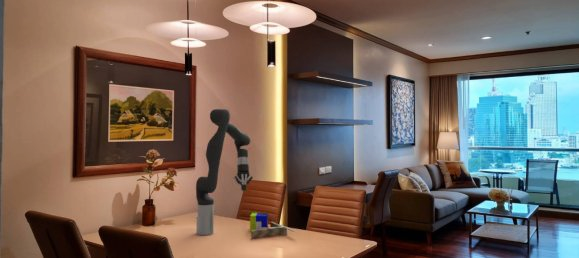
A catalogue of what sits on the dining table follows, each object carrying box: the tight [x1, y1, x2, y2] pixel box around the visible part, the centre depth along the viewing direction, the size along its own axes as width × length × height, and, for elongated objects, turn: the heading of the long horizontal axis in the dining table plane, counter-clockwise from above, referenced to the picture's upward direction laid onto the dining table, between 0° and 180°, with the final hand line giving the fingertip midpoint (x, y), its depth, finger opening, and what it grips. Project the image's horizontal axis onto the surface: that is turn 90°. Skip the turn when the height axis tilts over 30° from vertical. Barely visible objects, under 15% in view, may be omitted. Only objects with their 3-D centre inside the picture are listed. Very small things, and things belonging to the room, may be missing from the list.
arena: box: [250, 221, 296, 240], centre depth 238 cm, size 22×28×5 cm
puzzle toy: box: [249, 212, 269, 234], centre depth 250 cm, size 10×10×10 cm
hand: (243, 190), depth 268 cm, fingers closed
